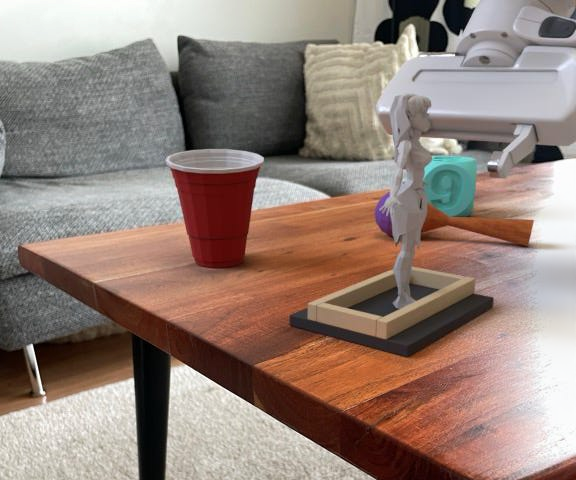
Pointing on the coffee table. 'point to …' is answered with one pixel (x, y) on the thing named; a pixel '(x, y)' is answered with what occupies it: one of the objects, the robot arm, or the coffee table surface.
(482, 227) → the kendama
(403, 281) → the human figurine
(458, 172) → the decorative dice
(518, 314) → the coffee table surface
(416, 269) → the stand pad
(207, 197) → the plastic cup
